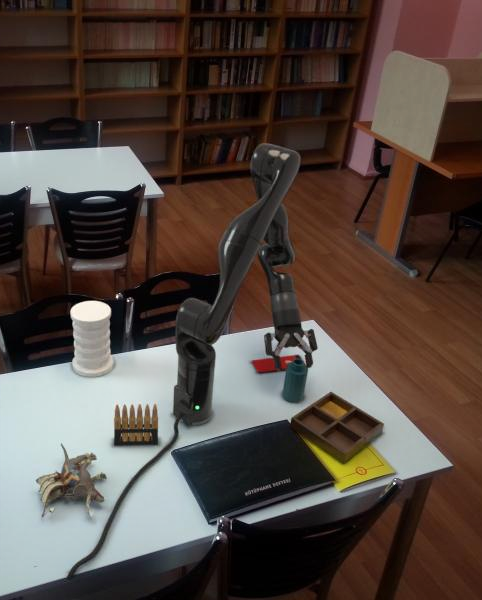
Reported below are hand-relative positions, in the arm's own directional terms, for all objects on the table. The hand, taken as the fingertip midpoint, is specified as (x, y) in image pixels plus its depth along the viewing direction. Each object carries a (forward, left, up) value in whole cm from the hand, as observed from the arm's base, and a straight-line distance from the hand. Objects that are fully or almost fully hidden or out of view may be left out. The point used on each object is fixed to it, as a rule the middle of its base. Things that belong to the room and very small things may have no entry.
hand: (294, 369), depth 166 cm
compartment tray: (-3, -17, -8) cm, 19 cm away
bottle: (-1, -1, -8) cm, 8 cm away
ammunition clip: (-45, +12, -8) cm, 47 cm away
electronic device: (+7, +11, -8) cm, 15 cm away
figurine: (-66, +9, -8) cm, 67 cm away
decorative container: (-35, +45, -8) cm, 57 cm away
